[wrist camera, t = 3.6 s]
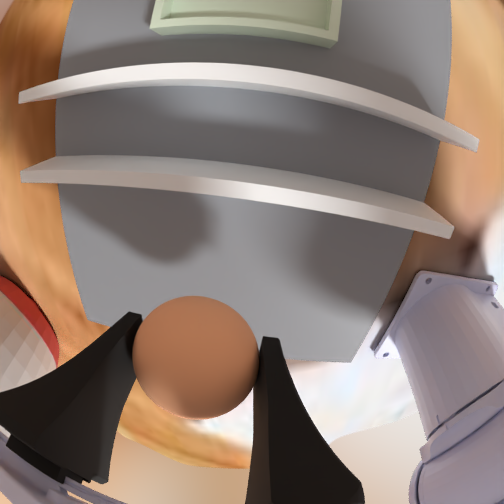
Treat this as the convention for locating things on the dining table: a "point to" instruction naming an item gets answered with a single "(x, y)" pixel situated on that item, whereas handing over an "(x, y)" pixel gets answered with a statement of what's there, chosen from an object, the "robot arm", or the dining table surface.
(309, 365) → the dining table surface
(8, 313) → the citrus juicer
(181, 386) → the ball
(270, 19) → the dish
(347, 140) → the grey ridged board
